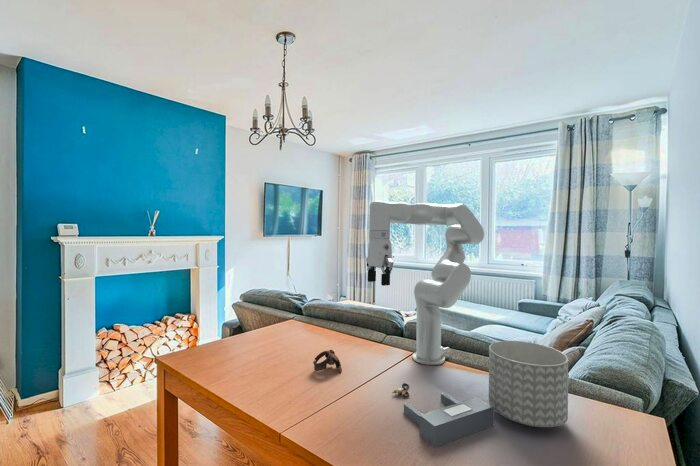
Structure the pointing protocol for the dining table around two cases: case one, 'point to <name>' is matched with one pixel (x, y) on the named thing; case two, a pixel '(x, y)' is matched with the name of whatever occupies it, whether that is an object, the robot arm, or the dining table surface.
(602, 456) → the dining table surface
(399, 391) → the composite cable
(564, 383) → the planter
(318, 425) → the dining table surface
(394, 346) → the dining table surface
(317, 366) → the pottery mug
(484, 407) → the dock
